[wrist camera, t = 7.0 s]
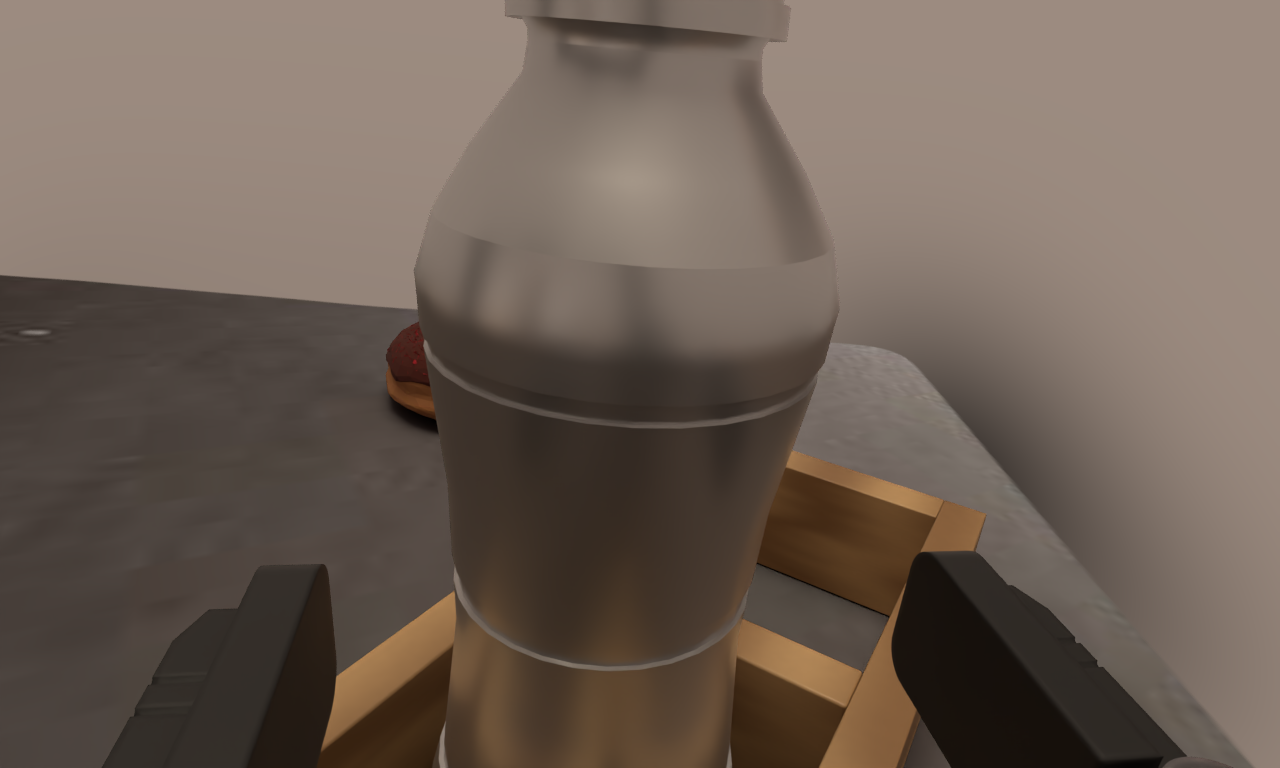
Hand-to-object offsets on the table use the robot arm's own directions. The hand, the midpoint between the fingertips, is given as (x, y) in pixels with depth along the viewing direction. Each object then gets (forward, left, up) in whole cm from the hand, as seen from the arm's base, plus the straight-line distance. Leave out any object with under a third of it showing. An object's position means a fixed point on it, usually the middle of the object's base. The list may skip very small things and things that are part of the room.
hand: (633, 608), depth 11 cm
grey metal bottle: (-2, +3, -11) cm, 12 cm away
